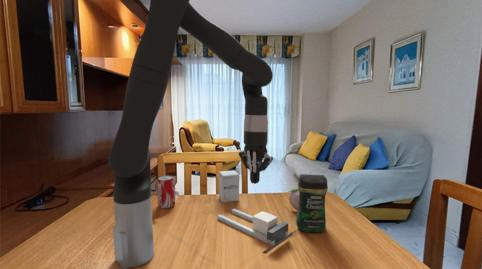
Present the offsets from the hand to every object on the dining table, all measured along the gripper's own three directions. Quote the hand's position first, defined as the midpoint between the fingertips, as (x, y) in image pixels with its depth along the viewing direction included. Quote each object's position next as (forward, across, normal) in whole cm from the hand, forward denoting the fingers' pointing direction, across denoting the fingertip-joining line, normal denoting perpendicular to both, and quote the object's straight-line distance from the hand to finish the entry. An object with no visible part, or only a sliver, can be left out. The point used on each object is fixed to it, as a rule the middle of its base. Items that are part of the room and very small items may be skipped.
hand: (254, 182), depth 82 cm
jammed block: (+16, +4, 0) cm, 16 cm away
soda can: (+17, -40, -9) cm, 44 cm away
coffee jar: (+17, +12, +15) cm, 26 cm away
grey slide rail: (+17, -2, 0) cm, 17 cm away
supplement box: (+17, -24, +12) cm, 32 cm away
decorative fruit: (+17, +4, +24) cm, 30 cm away
